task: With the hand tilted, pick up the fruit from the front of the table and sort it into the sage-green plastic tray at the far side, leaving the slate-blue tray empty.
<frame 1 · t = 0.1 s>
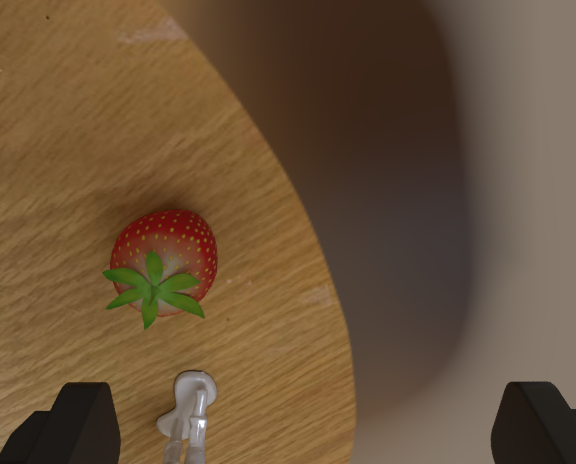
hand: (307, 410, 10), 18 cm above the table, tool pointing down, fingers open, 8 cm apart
figurine: (187, 412, 36), on the table
fruit: (181, 221, 28), on the table
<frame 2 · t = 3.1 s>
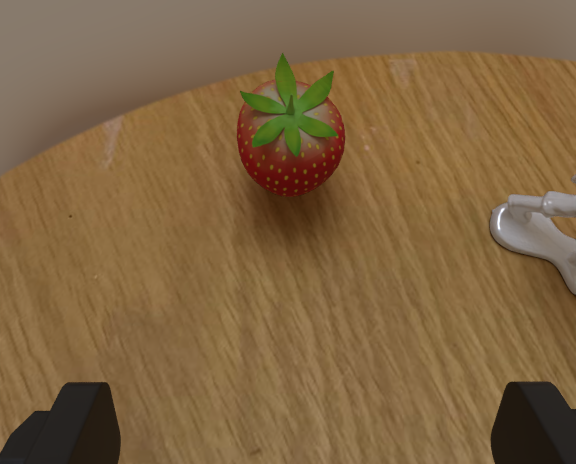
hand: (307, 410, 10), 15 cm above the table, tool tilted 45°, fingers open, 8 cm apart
figurine: (565, 253, 27), on the table
fruit: (286, 173, 28), on the table
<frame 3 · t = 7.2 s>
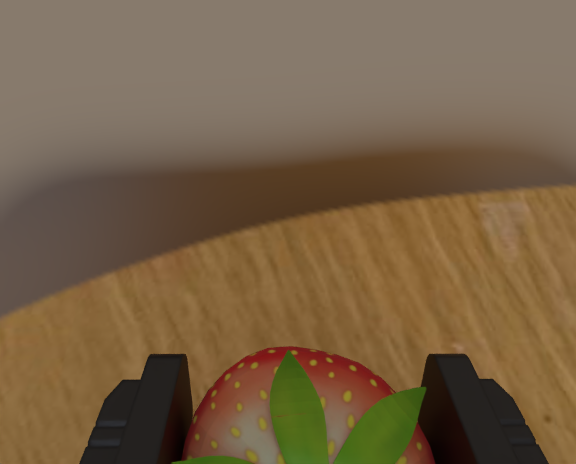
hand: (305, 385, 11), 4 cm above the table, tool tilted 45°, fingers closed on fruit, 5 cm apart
fruit: (296, 446, 14), on the table, touching gripper
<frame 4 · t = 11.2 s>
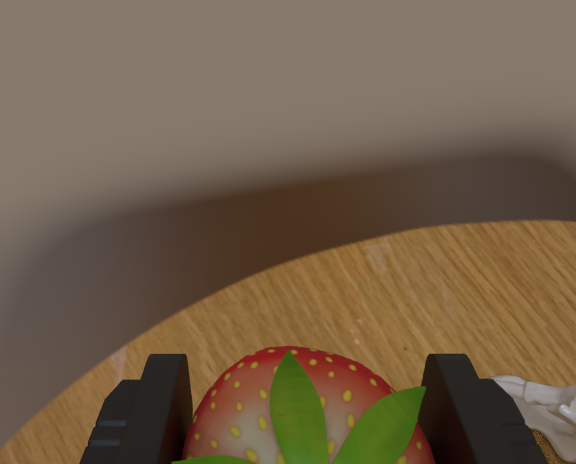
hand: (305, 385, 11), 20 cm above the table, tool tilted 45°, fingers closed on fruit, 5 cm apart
figurine: (550, 418, 29), on the table
fruit: (296, 446, 14), point 15 cm above the table, touching gripper
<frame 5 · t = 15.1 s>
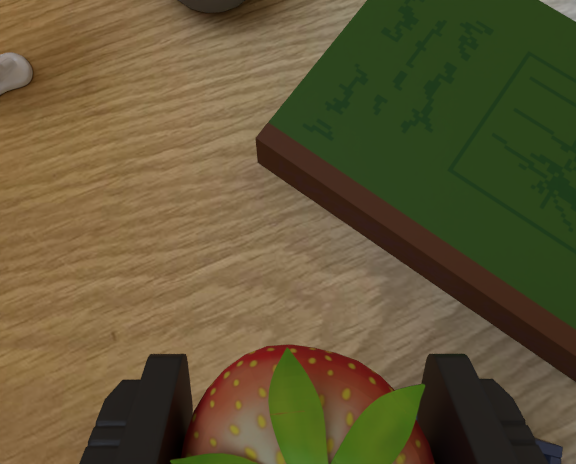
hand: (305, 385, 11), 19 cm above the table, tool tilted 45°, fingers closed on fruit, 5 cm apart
hardcover book: (488, 161, 33), on the table
fruit: (295, 445, 14), point 15 cm above the table, touching gripper
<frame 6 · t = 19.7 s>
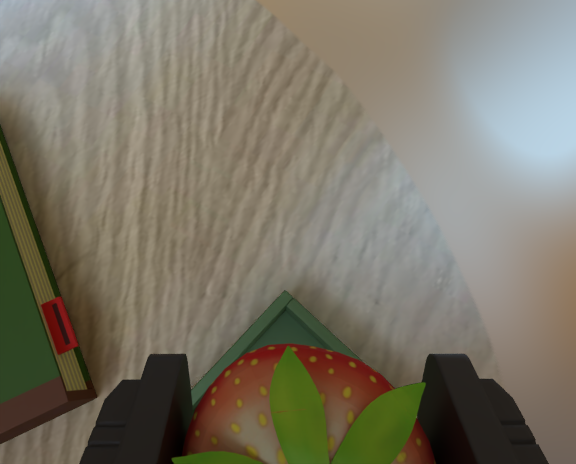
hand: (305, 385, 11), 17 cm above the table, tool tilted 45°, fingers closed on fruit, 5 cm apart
fruit: (296, 444, 14), point 12 cm above the table, touching gripper
green tray: (288, 411, 26), on the table
when the fingers open (5 cm above the table, at t = 23.3 s): fruit stays where it is, resting on green tray.
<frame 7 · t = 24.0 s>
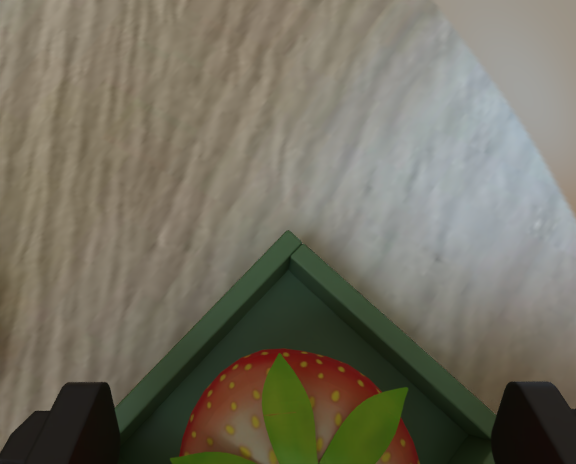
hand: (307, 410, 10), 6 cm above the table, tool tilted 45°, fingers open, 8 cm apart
fruit: (289, 443, 15), resting on green tray
green tray: (293, 440, 15), on the table
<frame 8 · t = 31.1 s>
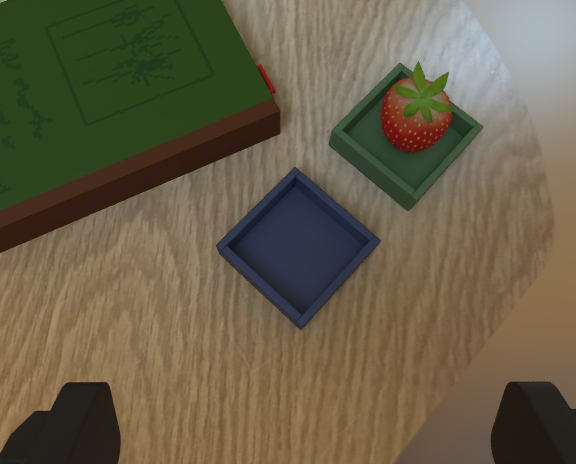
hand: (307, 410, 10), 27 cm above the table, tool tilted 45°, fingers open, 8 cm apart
hardcover book: (110, 98, 42), on the table
blue tray: (297, 251, 38), on the table
fruit: (399, 141, 41), resting on green tray
green tray: (400, 143, 41), on the table
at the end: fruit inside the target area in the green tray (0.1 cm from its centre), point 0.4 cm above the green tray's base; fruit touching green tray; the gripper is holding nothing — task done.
